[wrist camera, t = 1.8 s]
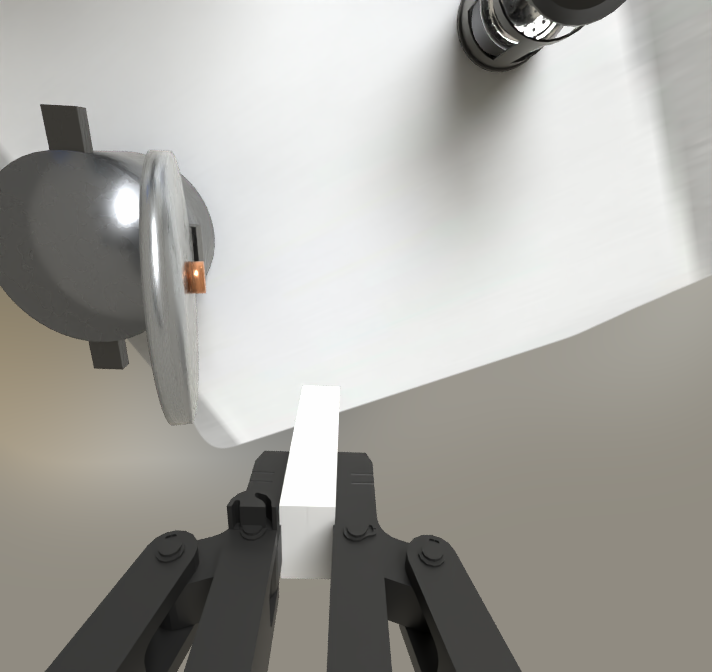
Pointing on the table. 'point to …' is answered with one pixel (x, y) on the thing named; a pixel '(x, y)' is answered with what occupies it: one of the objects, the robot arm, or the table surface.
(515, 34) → the french press
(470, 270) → the table surface
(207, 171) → the table surface
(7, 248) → the pot
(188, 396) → the lid
